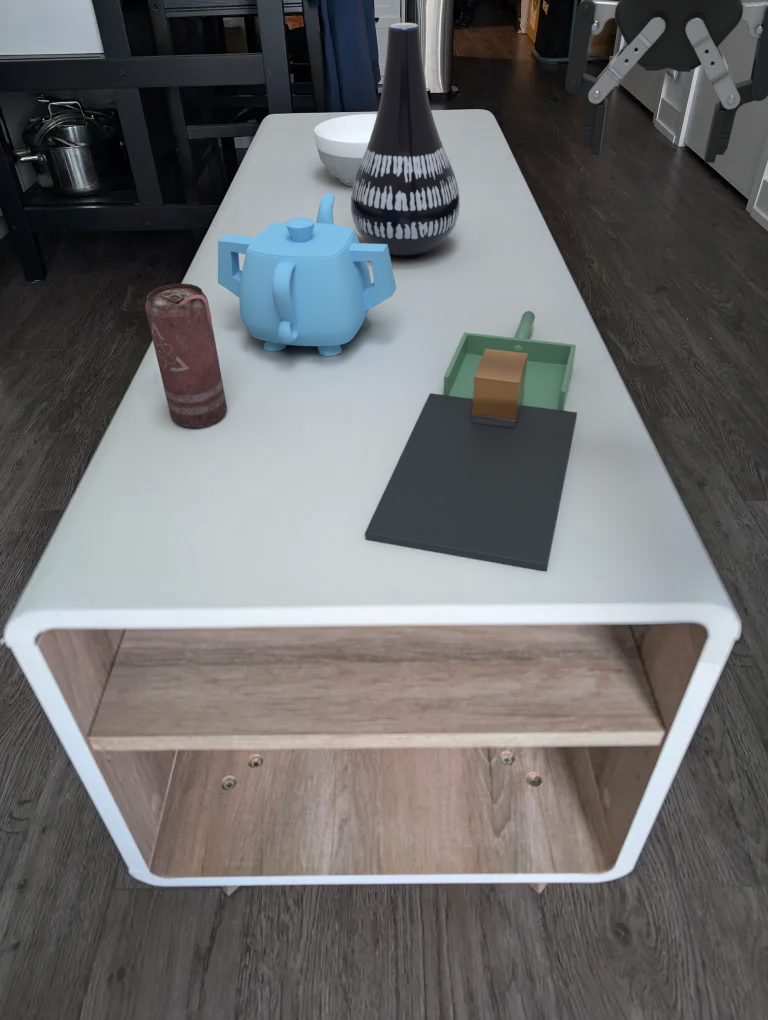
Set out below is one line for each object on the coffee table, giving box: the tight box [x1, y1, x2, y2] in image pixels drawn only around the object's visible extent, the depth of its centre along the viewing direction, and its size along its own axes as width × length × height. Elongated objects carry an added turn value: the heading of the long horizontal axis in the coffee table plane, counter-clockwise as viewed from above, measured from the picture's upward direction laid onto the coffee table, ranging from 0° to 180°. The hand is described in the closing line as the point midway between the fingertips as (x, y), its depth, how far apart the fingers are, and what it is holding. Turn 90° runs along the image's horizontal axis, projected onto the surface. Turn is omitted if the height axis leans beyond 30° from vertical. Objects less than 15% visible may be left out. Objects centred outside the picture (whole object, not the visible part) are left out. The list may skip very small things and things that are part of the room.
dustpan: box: [443, 310, 577, 411], centre depth 93 cm, size 19×13×3 cm
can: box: [144, 283, 228, 429], centre depth 82 cm, size 6×6×14 cm
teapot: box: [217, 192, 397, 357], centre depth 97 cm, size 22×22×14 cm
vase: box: [350, 22, 461, 260], centre depth 111 cm, size 16×16×30 cm
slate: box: [364, 392, 578, 572], centre depth 77 cm, size 24×16×1 cm, turn 164°
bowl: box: [313, 113, 377, 188], centre depth 144 cm, size 19×19×9 cm
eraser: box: [472, 349, 528, 428], centre depth 83 cm, size 6×4×6 cm
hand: (651, 156), depth 62 cm, fingers open, 8 cm apart
